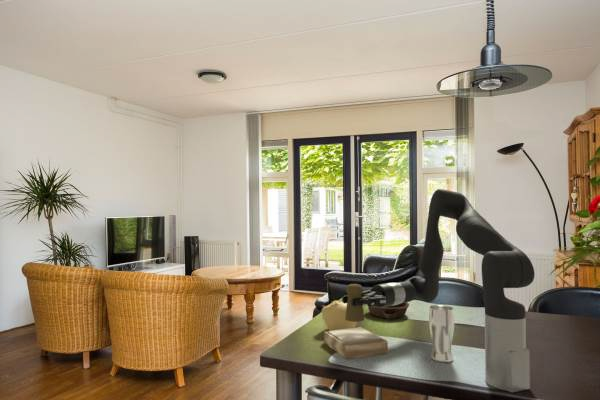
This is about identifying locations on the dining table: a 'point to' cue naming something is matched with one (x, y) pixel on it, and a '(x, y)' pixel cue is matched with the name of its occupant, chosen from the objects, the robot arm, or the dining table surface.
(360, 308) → the brown tall waisted piece
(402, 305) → the dish
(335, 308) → the sculpture
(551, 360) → the dining table surface
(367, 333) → the wooden stand
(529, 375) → the robot arm
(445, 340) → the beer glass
